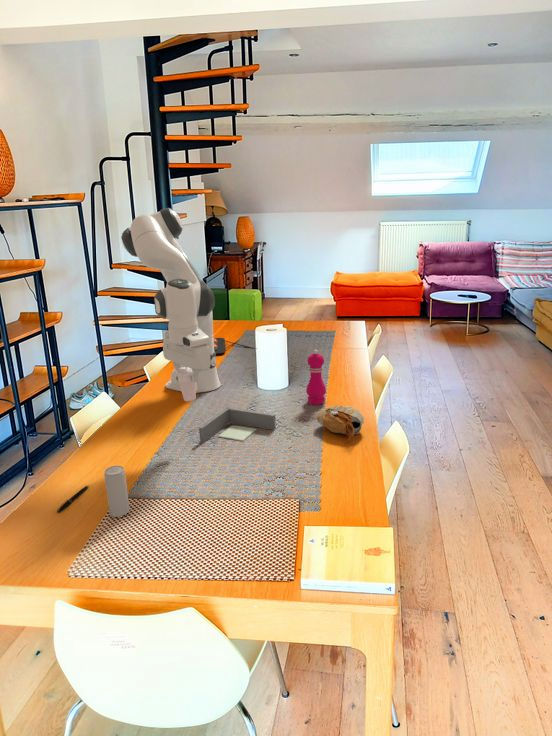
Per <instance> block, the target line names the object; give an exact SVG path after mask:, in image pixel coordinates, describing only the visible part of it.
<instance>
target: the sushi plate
mask: <svg viewBox="0 0 552 736" xmlns="http://www.w3.org/2000/svg"><path fill="white" fill-rule="evenodd" d="M213 340H214V351H215V353H216V355H221V354H224V353H226V351H227V349H228V348H230V347H231V346H233V345H236V346H237V345H238V346H241V347H244V348H248V349H252V350H253V349H254V350H256V349H255V348H256V347H252V346H248V345H244V344H240V343H238V342H239V341H241V339H238V340H236V341H235V342H233V341H228V340H225V338H224V337H213ZM226 343H230V345H228V346H226Z"/></svg>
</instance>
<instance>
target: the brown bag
mask: <svg viewBox="0 0 552 736" xmlns="http://www.w3.org/2000/svg"><path fill="white" fill-rule="evenodd" d="M316 420H317V422H318V424H320V425H322V426H323V427H324V428H326V429H328V430H329V431H330V432H332V433H334V434H343V435H346V436H347V437H348V438H347V441H346V443H344V445H346V444H348V443H349V442H350V441H352V444H355V435H358V434H359V433H360V431H361V430H362V428H363V427H362V426H363V424H364V423H365V417H364V415H363V414H362V413H361V412H360V411H359V410H358V409H357V408H356V407H353V406H349V405H332V406H327V407H324V408H322V409H321V410H319V412H318V413H317V415H316Z"/></svg>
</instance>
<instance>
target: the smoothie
mask: <svg viewBox="0 0 552 736" xmlns="http://www.w3.org/2000/svg"><path fill="white" fill-rule="evenodd" d="M192 374H193V372H192V368H189V367H186V366H185V367H182V368H179V369H177V370H176V375H177V376H178V380H179V383H180V387H181V391H182V392H181V391H180V392H181V394H182V398H183V401H184V402H193V401H195V400H196V398H197V396H196V394H197V393H196V382H193V381H191V376H192Z"/></svg>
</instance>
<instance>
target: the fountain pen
mask: <svg viewBox="0 0 552 736" xmlns="http://www.w3.org/2000/svg"><path fill="white" fill-rule="evenodd" d="M90 485H91V483H89V484H88V485H85V486H84V487H82V488H81V489H80V490H78V491H77V492H76V493H75V494H74V495H72V496H71V497H70V498H69V499H65V500H64V501H63V502H62V503H61V504H60V505H59V506H58V507H57V511H56V513H61V512H63V510H65V509H66V508H68V507H70V505H71V504H72V503H73V502H74V501H75V500H77V499H78V497H80V496H81V495H82V494H83V493H84V492H85V491H87V489H88V488H89V487H90Z"/></svg>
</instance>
